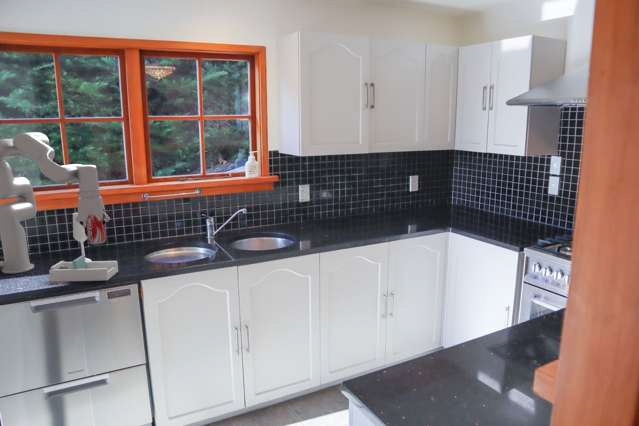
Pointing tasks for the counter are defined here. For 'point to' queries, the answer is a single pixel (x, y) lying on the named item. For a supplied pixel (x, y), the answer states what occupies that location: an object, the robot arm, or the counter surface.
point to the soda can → (95, 230)
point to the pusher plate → (79, 263)
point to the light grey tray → (83, 271)
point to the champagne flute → (79, 234)
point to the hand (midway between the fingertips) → (94, 235)
